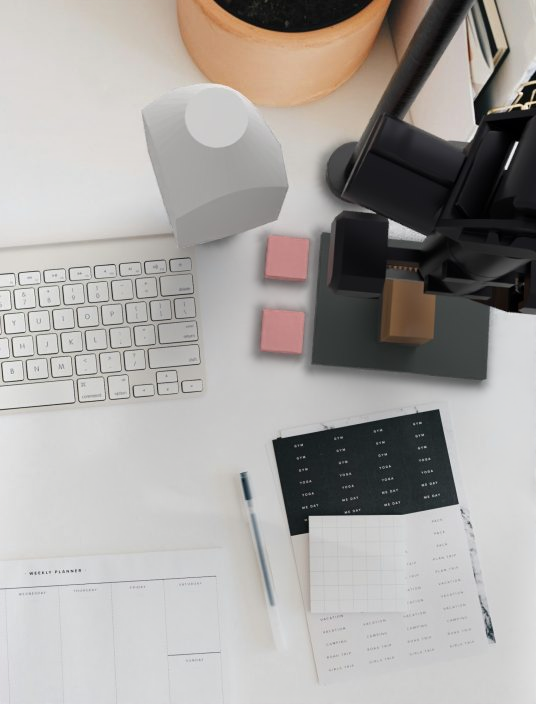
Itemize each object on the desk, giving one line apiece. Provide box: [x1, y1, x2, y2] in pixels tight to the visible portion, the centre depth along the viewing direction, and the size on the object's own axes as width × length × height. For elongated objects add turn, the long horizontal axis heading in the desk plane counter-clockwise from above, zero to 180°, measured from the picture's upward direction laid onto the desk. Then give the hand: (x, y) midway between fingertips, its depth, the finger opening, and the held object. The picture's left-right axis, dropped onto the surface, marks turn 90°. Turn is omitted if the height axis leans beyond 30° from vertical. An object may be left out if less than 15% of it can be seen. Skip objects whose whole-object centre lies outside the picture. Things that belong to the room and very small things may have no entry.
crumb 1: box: [263, 234, 310, 283], centre depth 72 cm, size 4×4×1 cm
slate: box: [310, 231, 491, 381], centre depth 72 cm, size 17×13×1 cm
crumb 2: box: [259, 308, 306, 356], centre depth 72 cm, size 4×4×1 cm
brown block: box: [376, 265, 436, 347], centre depth 69 cm, size 4×8×5 cm, turn 175°
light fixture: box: [140, 82, 290, 249], centre depth 63 cm, size 9×9×20 cm
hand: (418, 288), depth 65 cm, fingers open, 9 cm apart
